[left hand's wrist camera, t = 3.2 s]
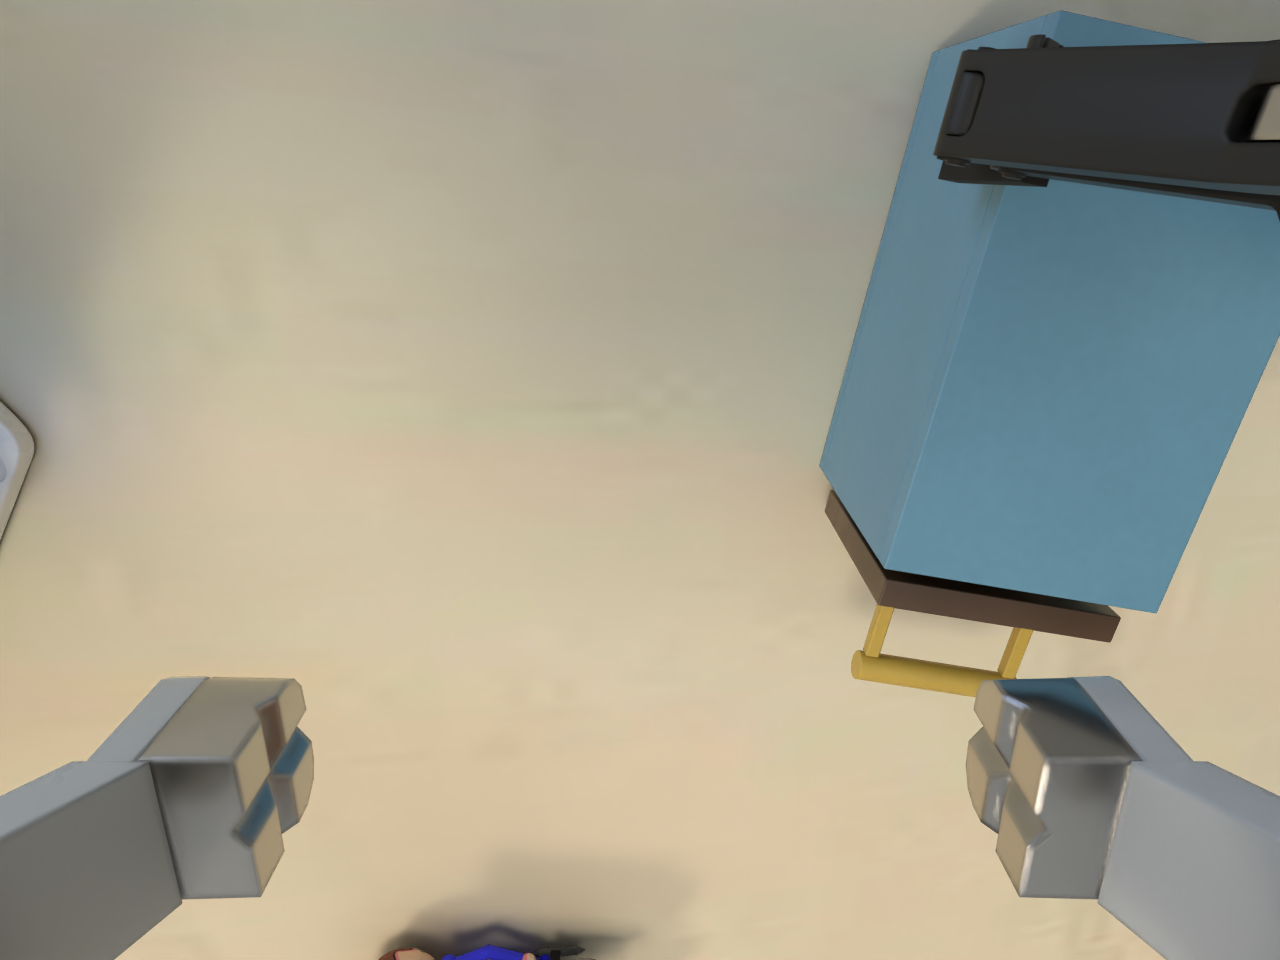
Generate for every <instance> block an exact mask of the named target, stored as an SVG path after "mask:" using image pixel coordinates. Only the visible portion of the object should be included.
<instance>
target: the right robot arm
mask: <svg viewBox="0 0 1280 960" xmlns="http://www.w3.org/2000/svg"><path fill="white" fill-rule="evenodd" d="M933 155H934V156H937V159H939V160H943V163H942V166H941V170H940V173H939V177H938V179H941V180H946V181H951V182H956V183H966V184H988V185H1011V186H1033V187H1047V185H1048V182H1049V179H1052V180H1059V181H1066V182H1074V183H1081V184H1088V185H1095V186H1102V187H1109V188H1116V189H1124V190H1131V191H1138V192H1145V193H1152V194H1159V195H1166V196H1173V197H1181V198H1188V199H1195V200H1202V201H1209V202H1216V203H1223V204H1231V205H1238V206H1245V207H1252V208H1259V209H1266V210H1273V211H1277V215H1278V218H1279V221H1280V40H1273V41H1265V42H1229V43H1194V44H1159V45H1123V46H1088V47H1064V46H1063V45H1060V44H1059V43H1058V42H1056V41H1054V40H1053V39H1051V38H1049V37H1046V35H1044V34H1040V35H1032V36H1030V37H1029V40H1028V43H1027V47H1026V48H1017V49H995V48H991V47H978V50H972V49H967V50H964V51H962V52H961V56H960V60H959V63H958V67H957V70H956V74H955V77H954V81H953V85H952V88H951V92H950V95H949V99H948V102H947V106H946V110H945V113H944V117H943V120H942V124H941V127H940V131H939V134H938V138H937V142H936V145H935V149H934V152H933Z"/></svg>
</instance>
